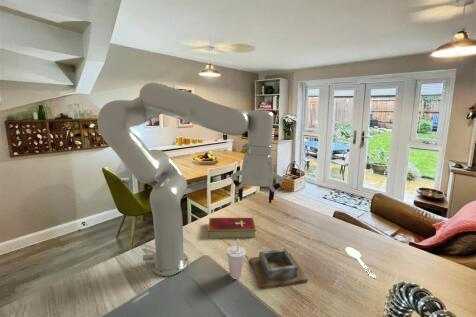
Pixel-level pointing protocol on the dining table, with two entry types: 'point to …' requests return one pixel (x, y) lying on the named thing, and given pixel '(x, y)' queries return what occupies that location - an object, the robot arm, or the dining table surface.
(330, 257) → the dining table surface
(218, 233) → the hardcover book
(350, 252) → the spoon
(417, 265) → the dining table surface
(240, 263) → the smoothie
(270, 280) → the holder
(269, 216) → the dining table surface
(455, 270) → the dining table surface
